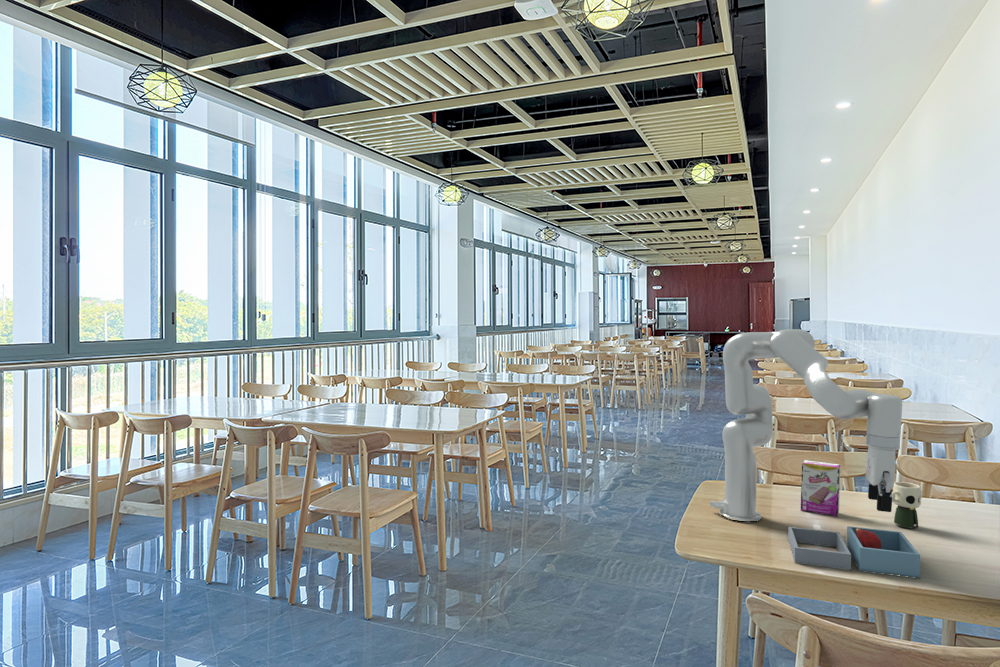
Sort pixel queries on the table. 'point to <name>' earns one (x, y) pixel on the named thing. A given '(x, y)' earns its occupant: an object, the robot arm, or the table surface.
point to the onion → (868, 539)
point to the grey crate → (819, 556)
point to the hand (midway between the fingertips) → (879, 505)
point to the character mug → (906, 503)
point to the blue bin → (885, 553)
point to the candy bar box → (820, 487)
